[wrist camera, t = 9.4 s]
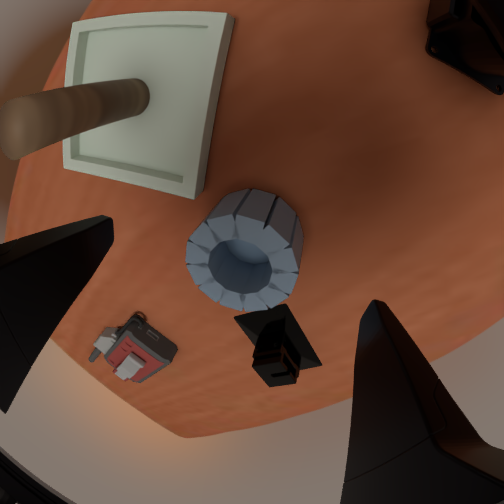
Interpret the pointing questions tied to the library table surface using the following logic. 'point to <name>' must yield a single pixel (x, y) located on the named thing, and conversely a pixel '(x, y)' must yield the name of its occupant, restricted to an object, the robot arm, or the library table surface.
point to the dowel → (67, 113)
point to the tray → (152, 96)
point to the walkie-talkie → (134, 350)
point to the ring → (247, 251)
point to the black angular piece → (277, 345)
